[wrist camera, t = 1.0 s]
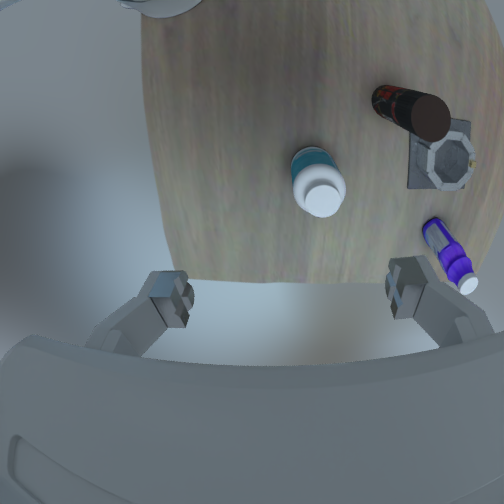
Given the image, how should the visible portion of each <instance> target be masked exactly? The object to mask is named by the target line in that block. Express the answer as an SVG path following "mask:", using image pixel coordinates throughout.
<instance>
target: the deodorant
mask: <svg viewBox="0 0 504 504" xmlns="http://www.w3.org/2000/svg"><path fill="white" fill-rule="evenodd" d="M372 105H373V108H374V110H375V111H376V113H377V114H378V115H380V116H381V117H383V118H385V119H387V120H389V121H391V122H393V123H395V124H396V125H398V126H400V127H402V128H404V129H406V130H407V131H409V132H411V133H413V134H414V135H416V136H418V137H419V138H421V139H423V140H424V141H427V142H438V141H440V140H442V139H443V138H444V137H445V136H446V135H447V133H448V131H449V129H450V125H451V116H450V111H449V109H448V107H447V105H446V104H445V102H444V101H443V100H441V99H440V98H439V97H437V96H435V95H431V94H427V93H423V92H419V91H415V90H410V89H405V88H400V87H395V86H389V85H383V86H380V87H378V88H377V89H376V90H375V91H374V93H373V95H372Z"/></svg>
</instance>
